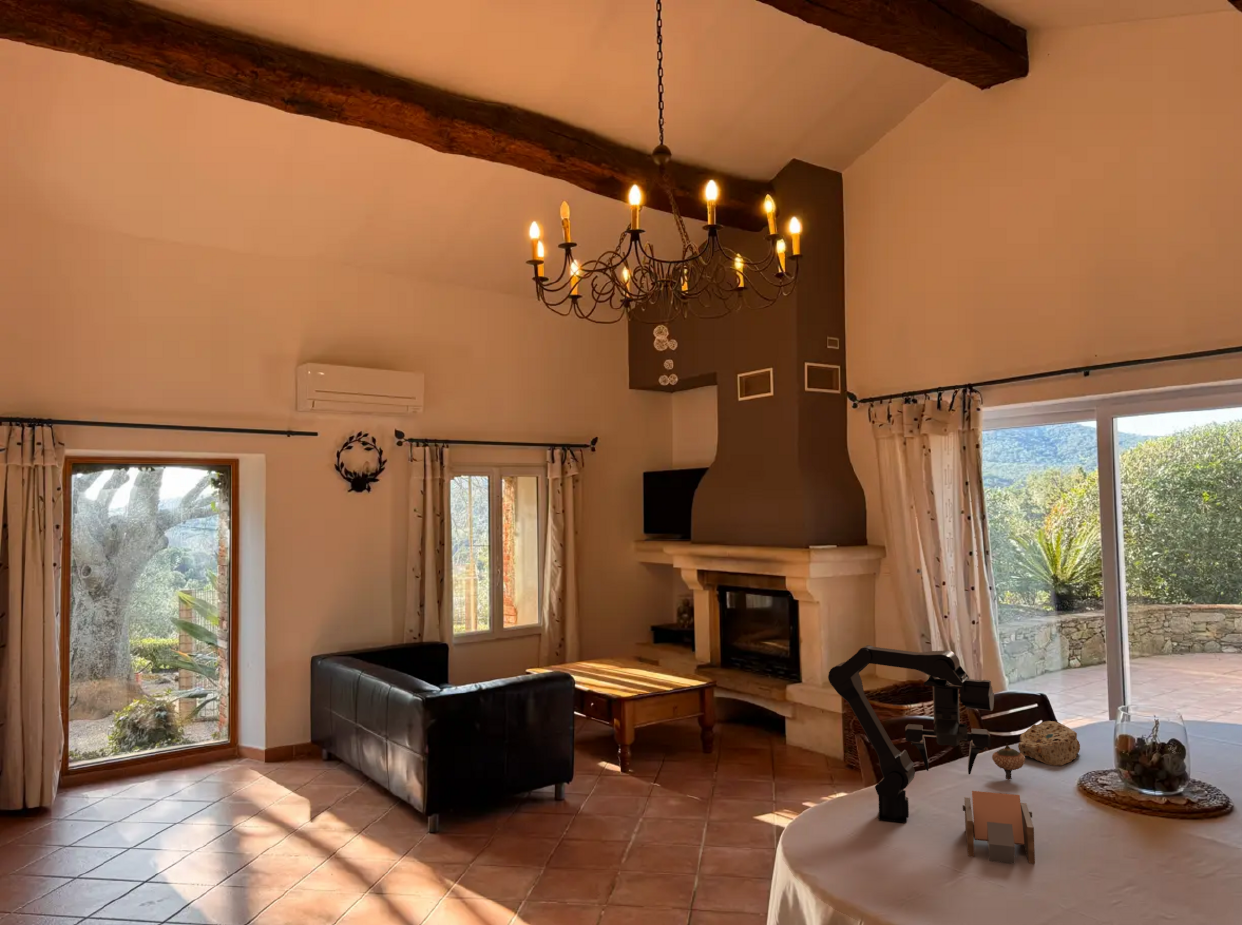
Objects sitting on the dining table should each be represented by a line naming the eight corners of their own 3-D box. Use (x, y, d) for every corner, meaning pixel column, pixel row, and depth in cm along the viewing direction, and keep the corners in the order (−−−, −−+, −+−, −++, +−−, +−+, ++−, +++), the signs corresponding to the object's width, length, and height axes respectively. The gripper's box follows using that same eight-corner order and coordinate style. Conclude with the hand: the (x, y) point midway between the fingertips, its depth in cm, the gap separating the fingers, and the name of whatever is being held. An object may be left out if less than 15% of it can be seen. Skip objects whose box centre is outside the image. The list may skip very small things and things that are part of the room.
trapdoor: (974, 848, 195) (974, 838, 192) (971, 800, 202) (972, 790, 199) (1023, 853, 192) (1024, 843, 188) (1018, 805, 199) (1019, 795, 196)
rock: (1070, 772, 244) (1059, 737, 245) (1019, 774, 254) (1008, 740, 255) (1090, 747, 259) (1080, 714, 260) (1041, 750, 269) (1031, 718, 270)
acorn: (1027, 777, 238) (1026, 740, 238) (1024, 786, 231) (1022, 748, 231) (995, 773, 242) (993, 736, 242) (990, 781, 235) (989, 744, 235)
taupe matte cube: (987, 821, 189) (989, 843, 184) (1012, 824, 187) (1014, 846, 182) (987, 838, 191) (989, 860, 186) (1011, 841, 189) (1014, 863, 184)
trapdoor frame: (965, 855, 188) (964, 820, 189) (962, 829, 203) (961, 797, 203) (1038, 864, 184) (1036, 827, 184) (1030, 836, 198) (1029, 803, 198)
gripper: (903, 711, 200) (905, 779, 200) (991, 716, 194) (993, 787, 194) (905, 700, 211) (907, 764, 210) (988, 705, 205) (990, 771, 204)
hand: (948, 772), depth 204 cm, fingers open, 9 cm apart
